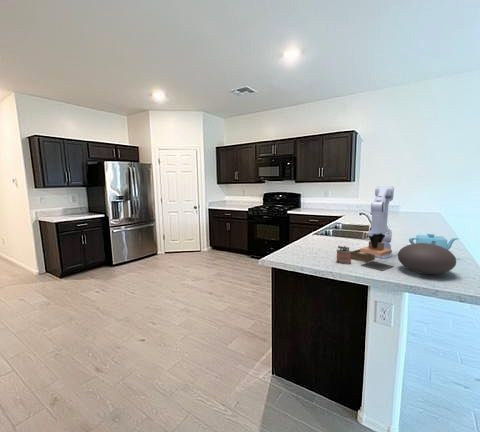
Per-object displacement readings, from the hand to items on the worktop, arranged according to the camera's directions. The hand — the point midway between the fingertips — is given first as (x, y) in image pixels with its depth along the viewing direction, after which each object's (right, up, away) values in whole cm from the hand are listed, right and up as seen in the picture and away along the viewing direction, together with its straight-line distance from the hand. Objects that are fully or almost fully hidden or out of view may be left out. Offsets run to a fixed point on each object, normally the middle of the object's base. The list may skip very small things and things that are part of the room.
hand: (376, 247), depth 148 cm
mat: (0, -11, 0) cm, 11 cm away
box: (-1, -9, +15) cm, 17 cm away
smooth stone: (+19, -12, -11) cm, 25 cm away
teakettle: (+42, -8, +15) cm, 45 cm away
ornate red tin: (-16, -10, +7) cm, 20 cm away
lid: (0, -2, 0) cm, 2 cm away
